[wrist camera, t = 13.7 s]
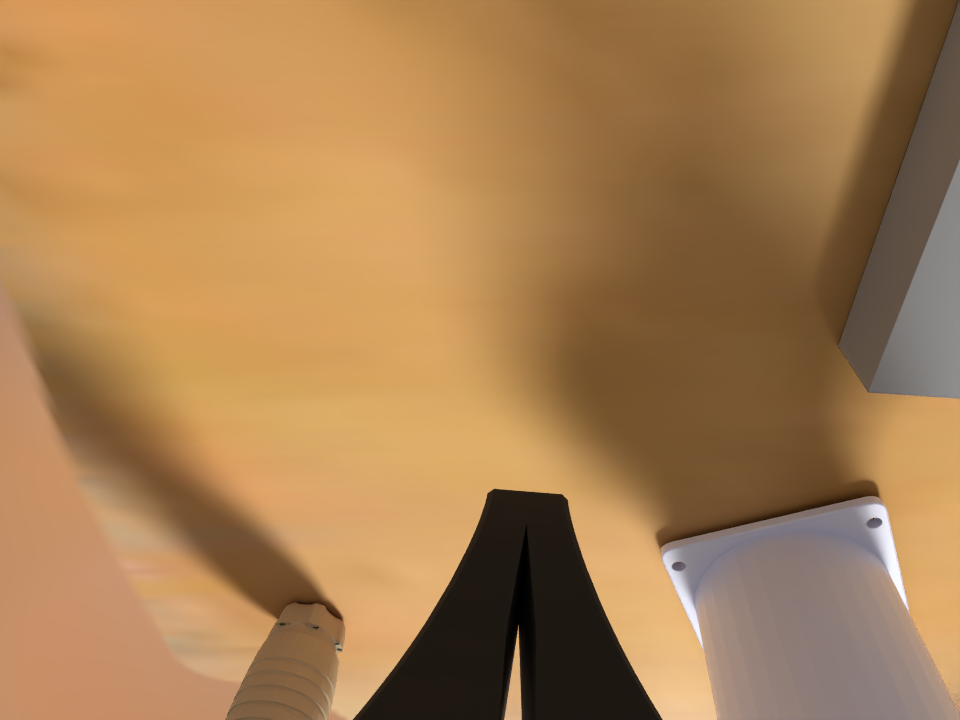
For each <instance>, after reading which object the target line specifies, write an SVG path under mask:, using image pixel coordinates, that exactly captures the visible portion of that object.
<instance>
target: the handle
mask: <svg viewBox="0 0 960 720" xmlns="http://www.w3.org/2000/svg"><path fill="white" fill-rule="evenodd" d="M344 639H345V626H344V624H343V622H342V620H341V619H338V618H336V617H334V616H333V615H332V614H330V613H329V612H328V611H327V609H326V607H325V606H324V605H322V604H319V603H314V604H310V605H305V604H298V603H296V602H295V603H292V604H289V605H287V606H286V607H285V608H284V610H283V611H282V613H281V615H280V617H279V619H278V620H277V622H276V623H275V625H274V627H273V628H272V630H271V632H270V634H269V636H268V638H267V639H266V641H265V642H264V643H263V645H262V647H261V648H260V650H259V651H258V653H257V655H256V656H255V658H254V660H253V662H252V664H251V666H250V668H249V669H248V672H247V674H246V675H245V677H244V680H243V682H242V684H241V686H240V688H239V690H238V692H237V694H236V696H235V698H234V701H233V703H232V705H231V707H230V710H229V712H228V715H227V718H226V719H225V720H328V719H329V713H330V710H331V706H332V701H333V696H334V692H335V686H336V681H337V672H338V664H339V661H338V658H337V655H336V654H337V653H338V652H342V649H343V644H344Z"/></svg>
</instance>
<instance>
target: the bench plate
mask: <svg viewBox="0 0 960 720" xmlns="http://www.w3.org/2000/svg"><path fill="white" fill-rule="evenodd" d="M838 347H839V349H840V350H841V352H842V353H843V355H844V356H845V358H846V359H847V361H848V362H849V364H850V365H851V367H852V369H853V370H854V372H855V373H856V375H857V376H858V378H859V379H860V381H861V382H862V384H863V385H864V387H865V388H866V390H867V392H870V393H884V394H899V395H913V396H928V397H943V398H957V399H960V0H959V2H958V5H957V8H956V11H955V14H954V16H953V19H952V22H951V25H950V28H949V31H948V34H947V36H946V39H945V42H944V45H943V48H942V51H941V54H940V56H939V59H938V62H937V65H936V68H935V71H934V74H933V76H932V79H931V82H930V85H929V88H928V91H927V94H926V96H925V99H924V102H923V105H922V108H921V111H920V114H919V116H918V119H917V122H916V125H915V128H914V131H913V133H912V136H911V139H910V142H909V145H908V148H907V151H906V153H905V156H904V159H903V162H902V165H901V168H900V171H899V173H898V176H897V179H896V182H895V185H894V188H893V191H892V193H891V196H890V199H889V202H888V205H887V208H886V211H885V213H884V216H883V219H882V222H881V225H880V228H879V231H878V233H877V236H876V239H875V242H874V245H873V248H872V251H871V253H870V256H869V259H868V262H867V265H866V268H865V271H864V273H863V276H862V279H861V282H860V285H859V288H858V291H857V293H856V296H855V299H854V302H853V305H852V308H851V310H850V313H849V316H848V319H847V322H846V325H845V328H844V330H843V333H842V336H841V339H840V342H839V345H838Z"/></svg>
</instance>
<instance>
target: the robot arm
mask: <svg viewBox="0 0 960 720" xmlns="http://www.w3.org/2000/svg"><path fill="white" fill-rule="evenodd" d="M872 518H875V519H873V520H869V519H872ZM661 557H662V561H663V563H664V565H665V568H666V570H667V572H668V574H669V576H670V579H671V581H672V583H673V585H674V587H675V589H676V592H677V594H678V596H679V598H680V600H681V603H682V605H683V607H684V609H685V611H686V614H687V616H688V618H689V620H690V622H691V624H692V627H693V629H694V631H695V633H696V635H697V638H698V640H699V642H700V644H701V646H702V648H703V651H704V653H705V658H706V663H707V668H708V673H709V678H710V683H711V689H712V694H713V699H714V704H715V709H716V714H717V719H718V720H960V713H959V711H958V709H957V707H956V705H955V703H954V701H953V699H952V697H951V695H950V693H949V691H948V689H947V687H946V685H945V683H944V681H943V679H942V677H941V675H940V673H939V671H938V669H937V667H936V665H935V663H934V661H933V659H932V657H931V655H930V653H929V651H928V650H927V648H926V646H925V644H924V642H923V640H922V638H921V636H920V634H919V632H918V630H917V628H916V626H915V624H914V622H913V620H912V618H911V616H910V612H909V607H908V602H907V598H906V593H905V589H904V584H903V580H902V575H901V571H900V566H899V562H898V557H897V553H896V548H895V544H894V539H893V534H892V530H891V525H890V521H889V516H888V512H887V508H886V507H885V505H884V503H883V501H882V499H880V498H878V497H875V496H867V497H862V498H858V499H853V500H849V501H845V502H840V503H836V504H832V505H827V506H823V507H819V508H815V509H810V510H806V511H802V512H797V513H793V514H789V515H785V516H780V517H776V518H772V519H767V520H763V521H759V522H755V523H750V524H746V525H742V526H737V527H733V528H729V529H724V530H720V531H716V532H712V533H707V534H703V535H699V536H694V537H690V538H686V539H682V540H677V541H673V542H669V543H667V544H665V545H664V546H662V548H661ZM675 562H680V563H675ZM518 625H519V649H520V678H521V706H522V720H662V718H661V716H660V715H659V713H658V711H657V710H656V708H655V706H654V705H653V703H652V702H651V700H650V698H649V697H648V695H647V693H646V691H645V690H644V688H643V686H642V684H641V683H640V681H639V679H638V677H637V675H636V674H635V672H634V670H633V668H632V666H631V664H630V663H629V661H628V659H627V657H626V655H625V653H624V651H623V649H622V647H621V645H620V643H619V641H618V639H617V637H616V635H615V633H614V631H613V629H612V627H611V624H610V622H609V620H608V618H607V616H606V614H605V611H604V609H603V607H602V605H601V602H600V600H599V598H598V595H597V593H596V590H595V588H594V585H593V583H592V580H591V578H590V575H589V573H588V571H587V568H586V565H585V562H584V560H583V557H582V554H581V551H580V548H579V545H578V542H577V539H576V535H575V532H574V528H573V524H572V521H571V516H570V512H569V506H568V500H567V499H566V498H565V497H564V496H563V495H562V494H550V493H538V492H525V491H513V490H500V489H494V490H492V491H490V492H489V493H488V494H487V499H486V503H485V506H484V509H483V512H482V515H481V518H480V520H479V523H478V525H477V528H476V530H475V533H474V535H473V537H472V539H471V542H470V544H469V546H468V548H467V550H466V552H465V554H464V556H463V558H462V560H461V562H460V564H459V566H458V568H457V570H456V572H455V574H454V576H453V578H452V579H451V581H450V583H449V585H448V587H447V588H446V590H445V592H444V593H443V595H442V597H441V598H440V600H439V602H438V603H437V605H436V607H435V608H434V610H433V612H432V613H431V615H430V617H429V618H428V620H427V621H426V623H425V624H424V626H423V628H422V629H421V631H420V632H419V634H418V635H417V637H416V638H415V640H414V641H413V642H412V644H411V645H410V647H409V648H408V650H407V651H406V652H405V654H404V655H403V657H402V658H401V659H400V661H399V662H398V664H397V665H396V666H395V668H394V669H393V670H392V672H391V673H390V674H389V675H388V677H387V678H386V679H385V681H384V682H383V683H382V684H381V686H380V687H379V688H378V690H377V691H376V692H375V693H374V695H373V696H372V697H371V699H370V700H369V701H368V702H367V703H366V705H365V706H364V707H363V708H362V709H361V711H360V712H359V713H358V714H357V715H356V717H355V718H354V719H353V720H504V717H505V710H506V703H507V697H508V690H509V684H510V677H511V671H512V664H513V658H514V651H515V645H516V638H517V631H518Z"/></svg>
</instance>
